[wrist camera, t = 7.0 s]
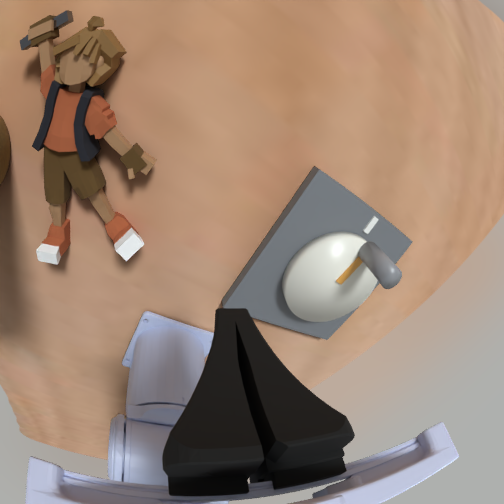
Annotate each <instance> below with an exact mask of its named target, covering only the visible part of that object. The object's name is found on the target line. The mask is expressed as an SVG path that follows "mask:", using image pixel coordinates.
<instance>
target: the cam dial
mask: <svg viewBox="0 0 504 504" xmlns="http://www.w3.org/2000/svg"><path fill="white" fill-rule="evenodd" d="M401 277H402V272H401V271H400V269H399V268H398V267H397V266H396V265H395V264H394V263H393V262H392V261H391V260H390V259H389V257H388V256H387V255H386V254H385V253H384V252H383V251H382V250H381V249H380V248H379V247H378V246H377V245H376V244H375V243H374V242H372V241H369V242H367V241H366V240H365V239H364V238H362V237H361V236H359V235H357V234H354V233H351V232H332V233H328V234H325V235H322V236H320V237H318V238H316V239H314V240H312V241H310V242H309V243H307V244H306V245H305V246H303V247H302V248H301V249H300V250H299V251H298V252H297V253H296V254H295V255H294V256H293V258H292V259H291V260H290V262H289V264H288V265H287V267H286V270H285V272H284V275H283V280H282V290H283V294H284V297H285V299H286V302H287V305H288V307H289V308H290V310H291V311H292V312H293V314H295V315H296V316H297V317H299V318H301V319H303V320H306V321H310V322H326V321H331V320H334V319H338V318H340V317H342V316H345V315H346V314H348V313H350V312H352V311H353V310H355V309H356V308H357V307H359V306H360V305H361V304H362V303H363V302H364V301H365V300H366V299H367V298H368V296H369V295H370V294H371V292H372V291H373V289H374V288H375V286H376V284H377V281H379V282H380V284H381V285H382V286H383V288H385V289H390V288H393V287H394V286H396V285H397V284H398V283H399V281H400V279H401Z"/></svg>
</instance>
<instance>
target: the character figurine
mask: <svg viewBox="0 0 504 504" xmlns="http://www.w3.org/2000/svg"><path fill="white" fill-rule="evenodd" d="M71 22H73V16H72V11H65V12H63V13H61V14H60V15H58V16H51V15H49V16H47V17H46V18H44V19H42V20H40V21H38V22H37V23H35V24H33V25H31V26H30V29H29V30H28V35H27V36H26V37H24V38H23V39H22V40H20V45H21V50H28V49H29V48H30V47H39V53H40V64H41V71H42V74H41V79H40V80H41V90H40V91H41V93H42V94H43V96H44V97H45V98H46V105H45V112H44V117H43V120H42V123H41V126H40V129H39V132H38V134H37V136H36V138H35V141H34V143H33V145H32V147H34V148H35V149H36V150H37V151H39V150H41V149H42V148H43V147H44V188H45V196H46V201H47V202H48V203H50V205H49V210H50V213H51V216H52V219H53V223H52V224H51V226H50V228H49V232H48V236H47V238H46V239H45V240H44V241H43V242H42V244H41V245H40V246H39V247H38V249H37V250H36V252H37V257H38V261H42V262H47V263H52V264H57V265H58V263H59V261H60V258H61V256H62V255H63V254H64V253H65V252H66V250H67V248H68V247H69V245H70V220H69V219H65V213H66V202H67V200H68V199H69V198H70V191H71V185H72V187H73V189H74V190H75V192H76V193H77V194H78V196H79V197H80V198H81V200H83V199H86V198H88V197H89V199H90V201H91V203H92V205H93V206H94V207H95V209H96V210H97V212H98V213H99V215H100V216H101V217H102V219H103V220H104V222H105V228H106V230H107V233H108V235H109V236H110V238H111V239H112V240H113V243H114V246H115V250H116V252H117V253H118V254H120V255H121V256H122V257H123V258H124V259H125V260H126V261H127V260H128V259H129V258H130V257H131V256H132V255H133V254H135V253H136V252H137V251H138V250H139V249H140V248H141V247H142V246H143V245H144V242H143V240H142V238H141V237H140V236H139V234H138V232H137V231H136V230H135V229H134V228H133V226H132V225H131V224H130V223H129V222H128V220H127V219H126V218H125V217H124V216H123V215H121V214H120V213H118V212H114V211H113V209H112V207H111V205H110V203H109V201H108V199H107V197H106V195H105V193H104V191H103V186H104V185H105V184H106V180H105V178H104V175H103V173H102V170H101V168H100V166H99V165H98V163H97V161H96V159H95V157H94V156H95V155H96V154H97V153H98V152H99V151H100V149H101V148H100V145H99V142H98V139H100V138H102V137H103V138H104V139H105V140H106V141H107V142H108V143H109V145H110V146H111V147H112V148H114V149H115V150H116V151H117V152H118V153H119V154H120V155H121V158H120V160H121V162H122V163H123V164H124V165H125V166H126V167H127V169H128V176H129V179H134V178H135V174H136V173H137V172H139V171H141V172H142V173H144V174H145V175H147V173H148V172H149V171H150V169H151V168H152V167H153V166H154V164H155V162H156V159H155V158H153V157H152V156H150V155H149V154H148V153H146V152H145V151H143V150H142V149H141V147H140V146H139V145H138V144H137V143H136V144H135V145H133V146H132V145H131V144H130V143H129V142H128V141H127V140H126V139H125V138H124V136H123V135H122V134H121V133H120V132H119V131H118V129H117V128H116V127H115V126H114V125H116V124H117V122H116V118H115V114H114V111H112V110H110V109H109V108H110V105H109V104H108V103H107V102H106V101H105V100H104V99H103V97H104V92H103V90H102V89H99V88H95V87H93V86H97V85H100V84H103V83H104V82H105V81H106V80H107V79H108V78H109V77H110V76H111V75H112V74H113V73H114V72H115V71H116V69H117V68H118V67H119V63H120V58H121V57H122V56H123V55H124V54H125V53H126V51H125V49H124V48H123V46H122V45H121V44H120V42H119V41H118V39H117V38H116V36H115V35H114V34H113V32H112V31H111V30H103V29H101V30H98V29H97V27H103V26H104V20H103V18H101V17H96V16H93V17H92V18H91V19H90V20H89V21H88V27H85V28H84V29H82V30H81V31H79V32H78V33H76V34H75V35H73V36H72V37H70V38H69V39H67V40H66V41H65V42H63V43H61V44H59V45H57V46H55V47H54V46H53V39H55V38H57V37H59V29H60V28H62V27H64V26H66V25H67V24H69V23H71ZM59 54H60V55H59ZM57 55H59V56H58V58H57V59H56V62H55V56H57ZM86 82H87V83H88V84H89V85H90V86H87V85H86Z"/></svg>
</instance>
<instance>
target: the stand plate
mask: <svg viewBox="0 0 504 504" xmlns="http://www.w3.org/2000/svg"><path fill="white" fill-rule="evenodd" d="M332 232H351V233H354V234H357V235H359V236H361V237H362V238H364V239H365V240H366V241H367V242H369V241H372V242H374V243H375V244H376V245H377V246H378V247H379V248H380V249H381V250H382V251H383V252H384V253H385V254H386V255H387V256H388V257H389V259H390V260H391V261H392V262H393V263H394V264H396V263H397V261H398V260H399V259H400V258H401V256H402V255H403V254H404V252H405V251H406V250H407V249H408V247H409V246H410V245H411V243H412V241H411V240H410V239H409V238H408V237H406V236H405V235H404V234H403V233H402V232H401V231H399V230H398V229H397V228H396V227H395V226H393V225H392V224H391V223H390V222H389V221H387V220H386V219H385V218H384V217H383V216H381V215H380V214H379V213H378V212H376V211H375V210H374V209H373V208H371V207H370V206H369V205H367V204H366V203H365V202H364V201H362V200H361V199H360V198H358V197H357V196H356V195H354V194H353V193H352V192H350V191H349V190H348V189H346V188H345V187H344V186H342V185H341V184H339V183H338V182H337V181H335V180H334V179H332V178H331V177H330V176H328V175H327V174H325V173H324V172H322V171H321V170H320V169H318V168H317V167H315V166H314V167H313V168H312V170H311V171H310V173H309V174H308V176H307V177H306V179H305V180H304V182H303V183H302V184H301V186H300V187H299V189H298V190H297V192H296V193H295V195H294V196H293V198H292V199H291V201H290V202H289V203H288V205H287V206H286V208H285V209H284V211H283V212H282V214H281V215H280V217H279V218H278V219H277V221H276V222H275V224H274V225H273V227H272V228H271V230H270V231H269V233H268V234H267V235H266V237H265V238H264V240H263V241H262V243H261V244H260V246H259V247H258V248H257V250H256V251H255V253H254V254H253V256H252V257H251V259H250V260H249V262H248V263H247V264H246V266H245V267H244V269H243V270H242V272H241V273H240V275H239V276H238V277H237V279H236V280H235V282H234V283H233V285H232V286H231V288H230V289H229V291H228V292H227V293H226V295H225V296H224V298H223V299H222V305H223V308H246V309H247V310H248V312H249V314H250V316H251V317H253V318H256V319H259V320H262V321H265V322H268V323H271V324H275V325H278V326H281V327H284V328H288V329H291V330H294V331H298V332H301V333H305V334H308V335H312V336H315V337H319V338H322V339H326V340H327V339H328V338H329V337H330V336H331V335H332V334H333V333H334V332H335V331H336V330H337V329H338V328H339V327H340V326H341V325H342V324H343V323H344V322H345V321H346V320H347V319H348V318H349V317H350V316H351V315H352V313H353V312H354V311H355V310H356V309H357V308H358V307H357V308H356V309H355V310H353V311H352V312H350V313H348V314H346V315H345V316H342V317H340V318H338V319H334V320H331V321H326V322H310V321H306V320H303V319H301V318H299V317H297V316H296V315H295V314H293V312H292V311H291V310H290V308H289V307H288V305H287V302H286V299H285V297H284V294H283V290H282V280H283V275H284V272H285V270H286V267H287V265H288V264H289V262H290V260H291V259H292V258H293V256H294V255H295V254H296V253H297V252H298V251H299V250H300V249H301V248H302V247H303V246H305V245H306V244H307V243H309V242H310V241H312V240H314V239H316V238H318V237H320V236H322V235H325V234H328V233H332ZM379 283H380V282H379V281H377V284H376V286H375V288H376V287H377V285H378V284H379ZM375 288H374V289H375ZM374 289H373V290H374Z"/></svg>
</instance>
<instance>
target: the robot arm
mask: <svg viewBox="0 0 504 504" xmlns="http://www.w3.org/2000/svg"><path fill="white" fill-rule="evenodd" d="M145 319H147V320H145ZM207 355H208V357H207V361H206V364H205V357H206V356H207ZM122 365H124V366H126V367H129V368H130V371H129V379H128V387H127V397H126V419H125V418H124V415H123V414H117V417H114V418H112V419H111V425H110V435H109V449H108V477H109V478H110V480H108V479H103V478H98V477H93V476H88V475H83V474H79V473H75V472H71V471H67V470H63V469H62V468H61V467H60V466H58V465H56V464H53V463H50V462H48V461H44V460H41V459H38V458H35V457H32V456H31V457H30V458H29V466H28V476H27V486H26V487H27V488H26V504H228V502H229V501H232V500H242V499H252V498H260V497H267V496H274V495H280V494H285V493H290V492H295V491H300V490H304V489H309V488H313V487H317V486H321V485H325V484H329V483H332V482H335V481H339V480H342V479H345V478H346V479H345V480H344V481H341V482H339V483H336V484H333V485H330V486H327V487H326V488H325V489H323V490H321V491H318V492H316V493H313V498H312V499H308V500H304V501H300V502H294V503H290V504H380V503H382V502H384V501H386V500H388V499H390V498H392V497H394V496H396V495H398V494H400V493H402V492H404V491H406V490H408V489H409V488H411V487H413V486H415V485H416V484H418V483H420V482H421V481H423V480H425V479H426V478H428V477H430V476H431V475H433V474H434V473H436V472H438V471H439V470H441V469H442V468H444V467H445V466H447V465H448V464H450V463H451V462H453V461H454V460H456V459H457V458H458V457H459V455H458V453H457V451H456V448H455V446H454V444H453V442H452V440H451V438H450V436H449V434H448V431H447V429H446V427H445V426H444V423H443V422H440V423H438V424H436V425H434V426H432V427H430V428H428V429H426V430H425V431H423V432H422V433H420V434H419V435H418V436H417V437H416V438H413V439H411V440H409V441H407V442H404V443H402V444H400V445H397V446H395V447H392V448H390V449H387V450H385V451H382V452H380V453H377V454H375V455H372V456H369V457H366V458H363V459H360V460H357V461H354V462H351V463H348V464H344V461H343V458H342V457H343V456H344V451H343V447H345V446H346V445H347V444H348V443H349V442H350V441H352V440H353V438H354V432H353V429H352V427H351V425H350V423H349V421H348V419H347V417H346V416H345V415H343V414H341V413H340V412H338V411H337V410H335V409H333V408H332V407H330V406H329V405H327V404H326V403H325V402H324V401H322V400H321V399H319V398H318V397H317V396H316V395H314V394H313V393H312V392H311V391H310V390H309V389H307V388H306V387H305V386H304V385H303V384H302V383H301V382H300V381H299V380H298V379H297V378H296V377H295V376H294V375H293V374H292V373H291V372H290V371H289V370H288V369H287V368H286V367H285V366H284V365H283V363H282V362H281V361H280V360H279V358H278V357H277V356H276V355H275V353H274V352H273V351H272V349H271V348H270V347H269V345H268V344H267V342H266V341H265V339H264V338H263V336H262V335H261V333H260V332H259V330H258V328H257V327H256V325H255V323H254V321H253V319H252V318H251V316H250V314H249V312H248V310H247V309H246V308H218V309H217V310H216V313H215V331H214V333H212V332H209V331H206V330H203V329H200V328H196V327H193V326H190V325H187V324H184V323H181V322H178V321H175V320H172V319H169V318H166V317H163V316H161V315H158V314H155V313H152V312H149V311H145V312H144V313H143V314H142V317H141V319H140V321H139V323H138V326H137V328H136V330H135V332H134V335H133V337H132V339H131V341H130V344H129V346H128V348H127V351H126V353H125V356H124V358H123V360H122ZM249 477H250V484H248V482H247V480H248V478H249Z"/></svg>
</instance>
